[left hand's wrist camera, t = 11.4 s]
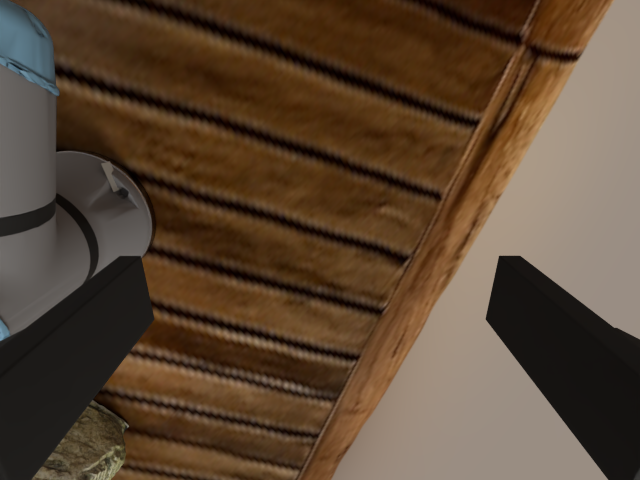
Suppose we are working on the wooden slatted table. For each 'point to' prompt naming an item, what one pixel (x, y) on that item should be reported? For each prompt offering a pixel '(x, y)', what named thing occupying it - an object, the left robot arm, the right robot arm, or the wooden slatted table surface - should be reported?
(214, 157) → the wooden slatted table surface
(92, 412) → the fossil
